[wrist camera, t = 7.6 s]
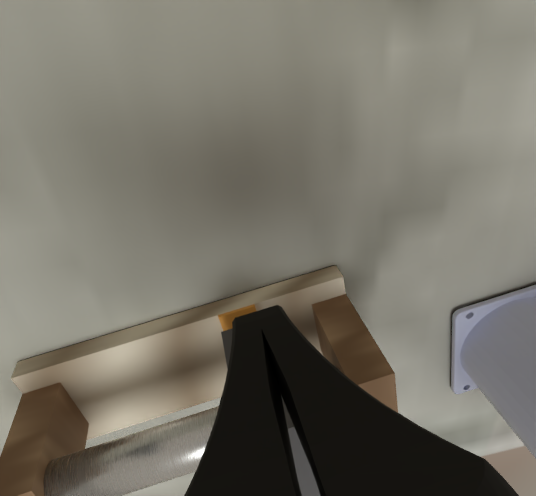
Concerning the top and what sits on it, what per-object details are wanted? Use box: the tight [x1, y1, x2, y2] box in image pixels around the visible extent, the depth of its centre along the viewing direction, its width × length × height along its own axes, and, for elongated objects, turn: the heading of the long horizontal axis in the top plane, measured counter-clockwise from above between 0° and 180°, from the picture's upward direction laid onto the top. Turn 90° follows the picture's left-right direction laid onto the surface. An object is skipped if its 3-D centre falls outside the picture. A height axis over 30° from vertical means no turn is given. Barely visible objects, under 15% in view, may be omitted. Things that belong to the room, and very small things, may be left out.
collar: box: [221, 329, 320, 496], centre depth 21 cm, size 2×6×6 cm, turn 13°
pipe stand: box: [0, 265, 398, 496], centre depth 22 cm, size 18×6×7 cm, turn 103°
